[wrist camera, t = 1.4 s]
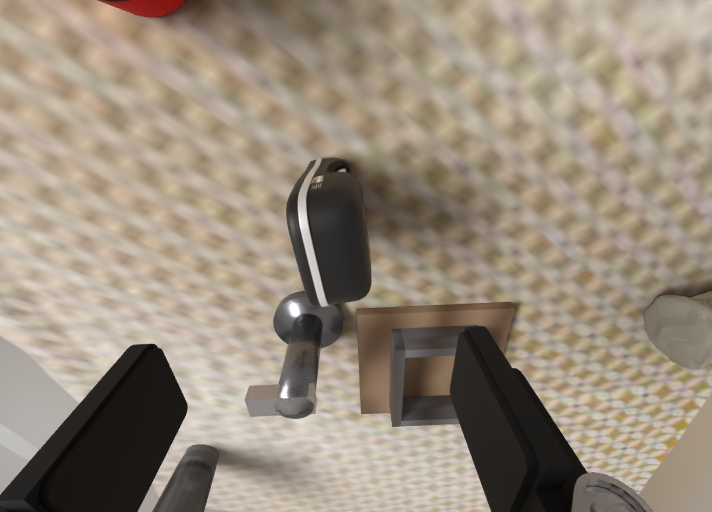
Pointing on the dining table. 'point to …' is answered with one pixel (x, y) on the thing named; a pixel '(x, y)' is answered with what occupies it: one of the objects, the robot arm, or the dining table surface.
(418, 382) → the holder
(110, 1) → the soda can
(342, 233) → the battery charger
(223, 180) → the dining table surface
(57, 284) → the dining table surface
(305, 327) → the post
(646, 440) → the dining table surface
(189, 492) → the beverage cup
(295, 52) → the dining table surface
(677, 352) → the ceramic sculpture
